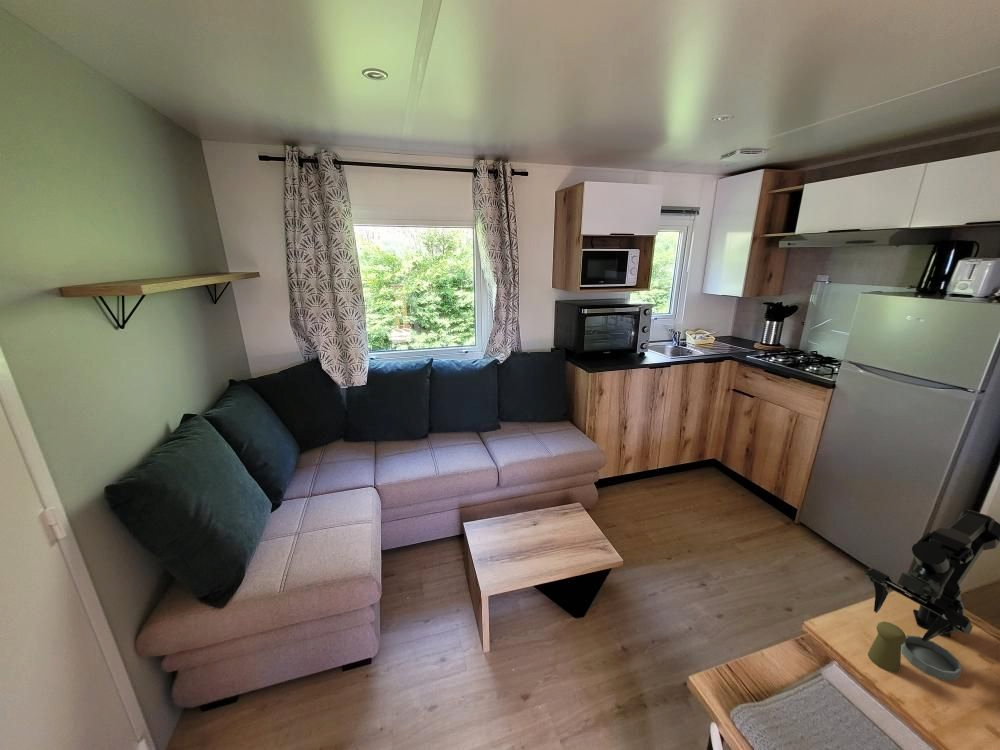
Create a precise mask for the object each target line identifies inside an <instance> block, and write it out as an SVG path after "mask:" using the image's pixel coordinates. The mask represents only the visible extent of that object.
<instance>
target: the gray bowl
mask: <svg viewBox="0 0 1000 750" xmlns="http://www.w3.org/2000/svg"><path fill="white" fill-rule="evenodd" d="M905 636H906V641H905V643H904V644H902V645H901V655H903V657H905V659H906V660H907V661H908V662H909V663H910V664H911V665H912V666H914V667H915V668H917V669H919V670H920V671H921V672H923V673H924V674H927V675H929V676H931V677H933V678H936V679H939V680H941V681H949V682H955V681H956V680H957V679H959V678H960V676H961V673H962V670H963V669H962V665H961V663H960V661H959V660H958V658H956V657H955V655H953V653H951V652H950V651H949V650H948V649H946V648H945V647H943V646H941V645H940V644H938V643H936V642H934V641H933V640H931V639H930V640H928V641H926V642H924V641H922V638H923V637H922V636H919V635H909V634H908V635H905Z"/></svg>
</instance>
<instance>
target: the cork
mask: <svg viewBox="0 0 1000 750" xmlns="http://www.w3.org/2000/svg"><path fill="white" fill-rule="evenodd" d="M876 632H877V635H876V637H875V638H874V641H873V642H872V644H871V646H870V648H869V650H868V652H867V657H868V659H870V661H871V662H872V663H873V664H874V665H876V666H877V667H878V668H880V669H882V670H884V671H886V672H889V673H892V674H893V673H894V674H896V673H900V672H901V664H902V663H901V660H902V659H901V657H902V652H901V645H902V644H904V643H905V641H906V636H907V635H906V634H905V632H904V631H903V629H901V627H900V626H898V625H895V624H894V623H891V622H890V621H880V622H878V623H877V625H876Z"/></svg>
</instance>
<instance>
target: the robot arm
mask: <svg viewBox="0 0 1000 750" xmlns="http://www.w3.org/2000/svg"><path fill="white" fill-rule="evenodd" d="M999 544H1000V523H999V522H997V521H996V520H995V518H993V517H991V516H990V515H987V514H984V513H981V512H978V511H976V510H972V509H965V511H961V513H960V515H959V516H958V518H957V520H956V521H955V522H954V523H953V524H952V525H951V526H949V527H948V528H942V527H941V528H939V527H938V528H936V529H934V530H932V531H931V532H927V533H926V534H925V535H924V536H923V537H921V538H919V540H918V541H917V542H916V543H914V544H913V545H912V547H911V552H912V554H913V557H914V558H915V561H916V564H915V566H914V568H913V569H911V570H910V572H909V573H908V572H901V574H900V576H899V578H898V581H897V583H895V582H894V581H893V580H891V577H890V576H889V575H887V574H885V573H884V572H882V571H879V570H877V569H876V568H873V567H872V568H868V569H867V571H866V572H865V574H864V575H865V576H866V578H867V579H868V581H869V582H870V584H872V586H873V588H874V593H875V594H874V605H873V606H874V607H873V612H874V613H875V614H877V613H879V611H880V610H881V608H882V606H883V605H884V603H885V601H886V599H887V597H888V595H889V592H888V590H892V591H894V592H895V593H898V594H900V595H901V596H903V597H905V598H907V599H908V600H910V601H912V602H914V603H915V604H918V605H919V607H918V609H913V610H912V611H913V616H914V618H915V622H916V625H917V626H918V627H922V628H923V629H927V631H926V632H925V633H924V634H923V637H922V641H924V642H926V641H928V640H930V641H931V640H932V639H933V638H936V637H938V636H940V635H943V636H945V637H948V638H951V637H952V636H953V635H952V633H951V632H954V633H956V634H959V633H960V632H961V633H963V634H965V635H967V636H969V635H970V633H971V632H972V630H973V627H974V626H973V624H972V622H971V620H970V618H969V616H965V615H964V614H965V606H964V603H963V601H962V596H961V595H962V591H961V588H960V586H961V584H962V582H963V581H964V579H965V578H966V577H967V575H968V573H969V572H970V570H971V569H972V568H973V566H974V565H975V563H976V562H977V560H978V558H979V557H980V555H981V554H982V553H983V552H984V551H987V550H993V549H997V547H998V546H999Z"/></svg>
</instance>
